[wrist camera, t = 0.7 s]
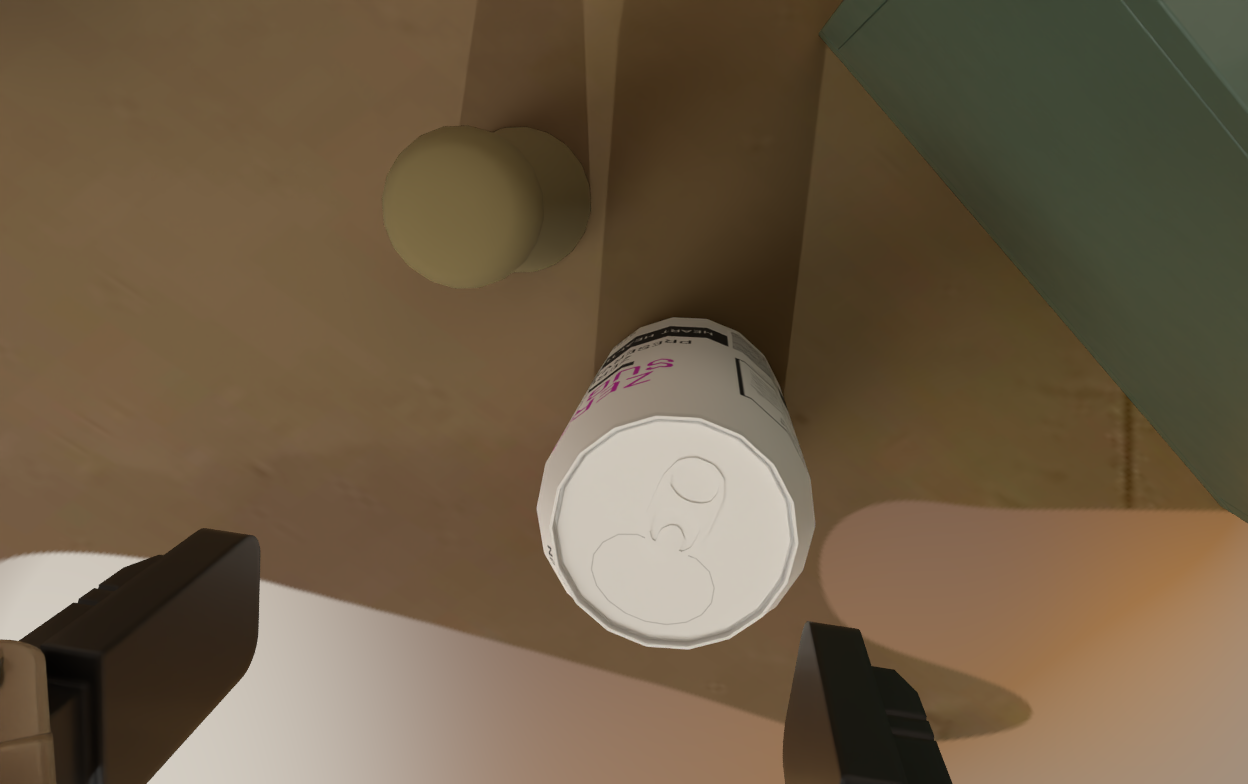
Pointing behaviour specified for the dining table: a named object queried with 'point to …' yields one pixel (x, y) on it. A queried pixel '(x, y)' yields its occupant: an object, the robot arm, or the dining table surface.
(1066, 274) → the cupboard
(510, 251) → the pawn
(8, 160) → the dining table surface
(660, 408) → the supplement can
